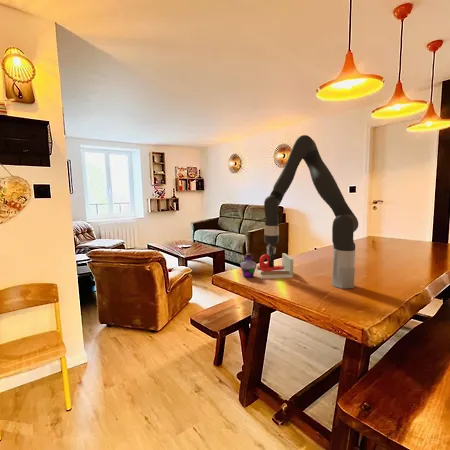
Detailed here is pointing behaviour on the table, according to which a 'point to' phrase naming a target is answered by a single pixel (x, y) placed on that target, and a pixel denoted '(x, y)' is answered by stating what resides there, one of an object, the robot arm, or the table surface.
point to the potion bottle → (248, 266)
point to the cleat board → (285, 273)
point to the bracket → (267, 264)
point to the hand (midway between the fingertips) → (271, 266)
